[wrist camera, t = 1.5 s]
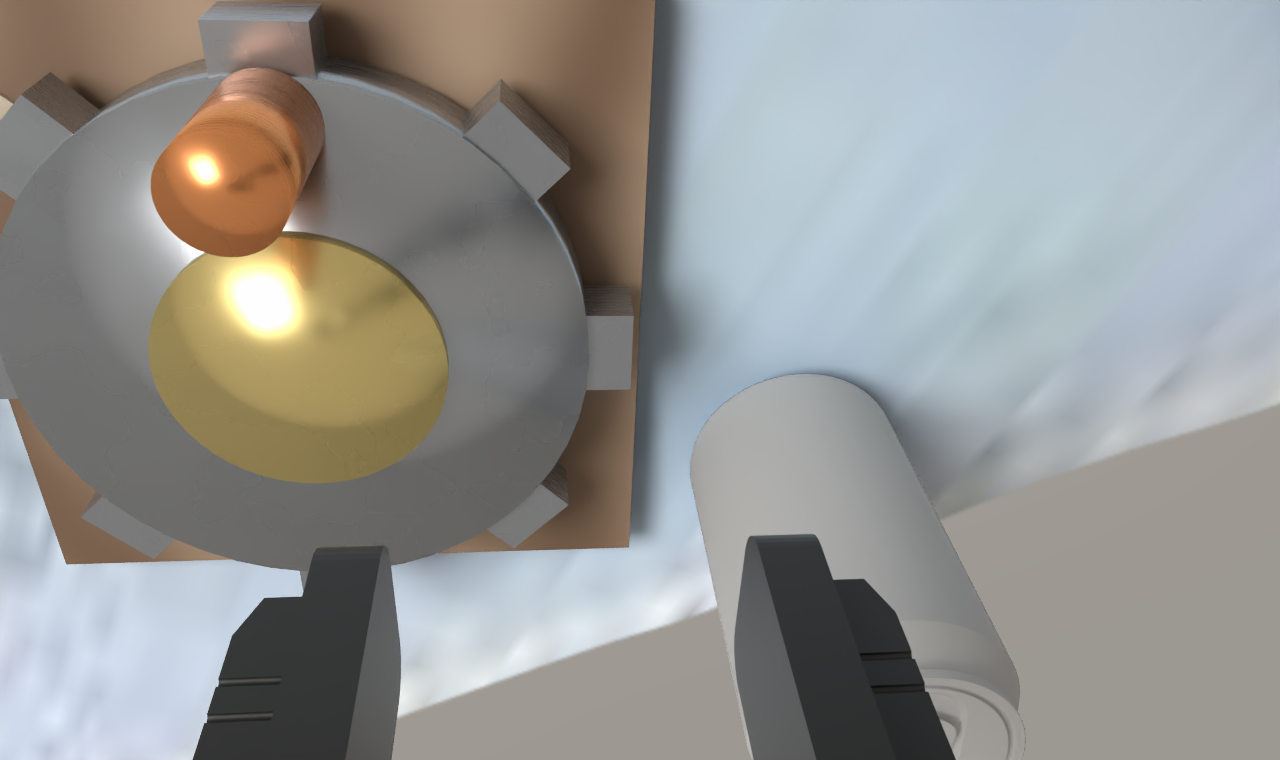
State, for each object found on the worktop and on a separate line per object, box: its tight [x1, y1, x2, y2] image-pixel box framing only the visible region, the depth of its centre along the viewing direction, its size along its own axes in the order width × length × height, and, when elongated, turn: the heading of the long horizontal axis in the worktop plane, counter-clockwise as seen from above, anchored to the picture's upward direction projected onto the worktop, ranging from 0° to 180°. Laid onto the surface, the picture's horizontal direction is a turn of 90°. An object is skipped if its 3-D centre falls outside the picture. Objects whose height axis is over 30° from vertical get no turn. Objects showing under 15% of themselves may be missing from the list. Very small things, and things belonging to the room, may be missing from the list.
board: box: [0, 0, 655, 564], centre depth 28 cm, size 17×17×1 cm
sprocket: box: [0, 1, 634, 591], centre depth 25 cm, size 16×16×6 cm
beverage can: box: [690, 374, 1026, 760], centre depth 28 cm, size 6×6×12 cm
